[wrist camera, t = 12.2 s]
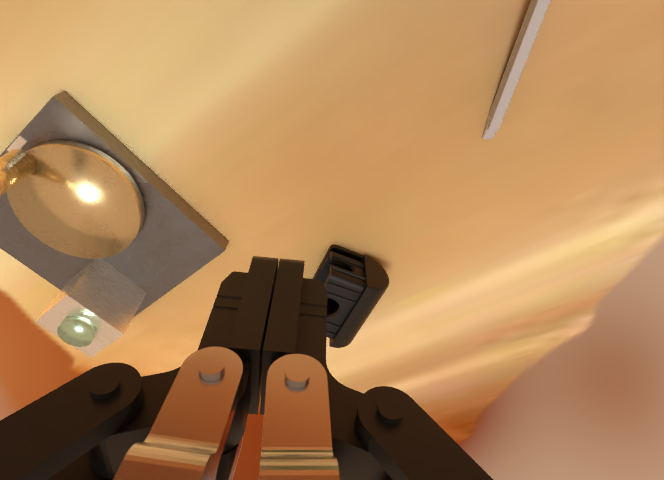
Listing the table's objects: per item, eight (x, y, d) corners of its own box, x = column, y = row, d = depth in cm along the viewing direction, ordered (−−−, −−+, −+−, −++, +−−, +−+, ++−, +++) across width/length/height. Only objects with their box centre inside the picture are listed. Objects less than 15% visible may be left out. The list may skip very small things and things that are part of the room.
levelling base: (-38, 203, 49) (-115, 254, 41) (64, 90, 42) (-3, 124, 34) (123, 318, 59) (87, 379, 50) (228, 241, 52) (207, 296, 43)
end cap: (351, 315, 58) (352, 355, 52) (301, 298, 57) (297, 337, 51) (386, 260, 53) (392, 296, 47) (333, 239, 52) (333, 274, 46)
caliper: (555, -118, 34) (595, -131, 29) (569, -116, 34) (611, -129, 29) (480, 137, 45) (499, 161, 40) (491, 138, 45) (511, 162, 40)
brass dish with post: (29, 241, 49) (-31, 297, 41) (2, 129, 42) (-76, 170, 34) (147, 258, 50) (111, 315, 42) (141, 152, 43) (96, 197, 35)
